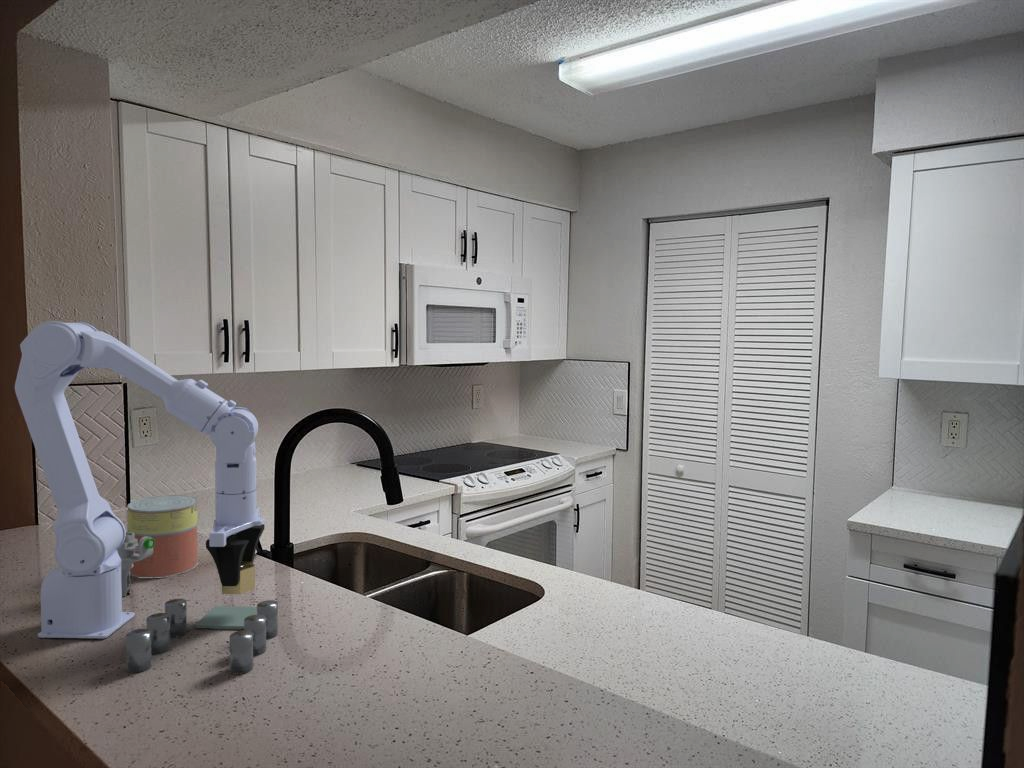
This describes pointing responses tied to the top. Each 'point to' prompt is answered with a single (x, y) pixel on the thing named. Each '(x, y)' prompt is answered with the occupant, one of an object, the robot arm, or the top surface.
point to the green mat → (226, 617)
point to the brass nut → (242, 580)
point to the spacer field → (176, 624)
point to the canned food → (165, 534)
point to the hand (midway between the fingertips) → (236, 579)
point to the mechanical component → (133, 556)
